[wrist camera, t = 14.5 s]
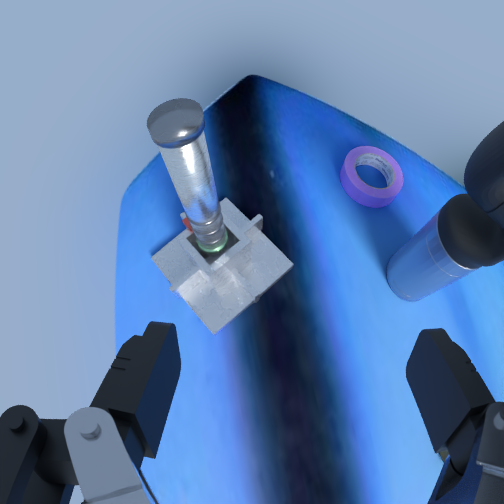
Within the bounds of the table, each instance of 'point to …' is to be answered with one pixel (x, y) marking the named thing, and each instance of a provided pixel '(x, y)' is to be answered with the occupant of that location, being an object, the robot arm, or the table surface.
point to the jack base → (223, 268)
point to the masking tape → (362, 190)
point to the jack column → (190, 169)
